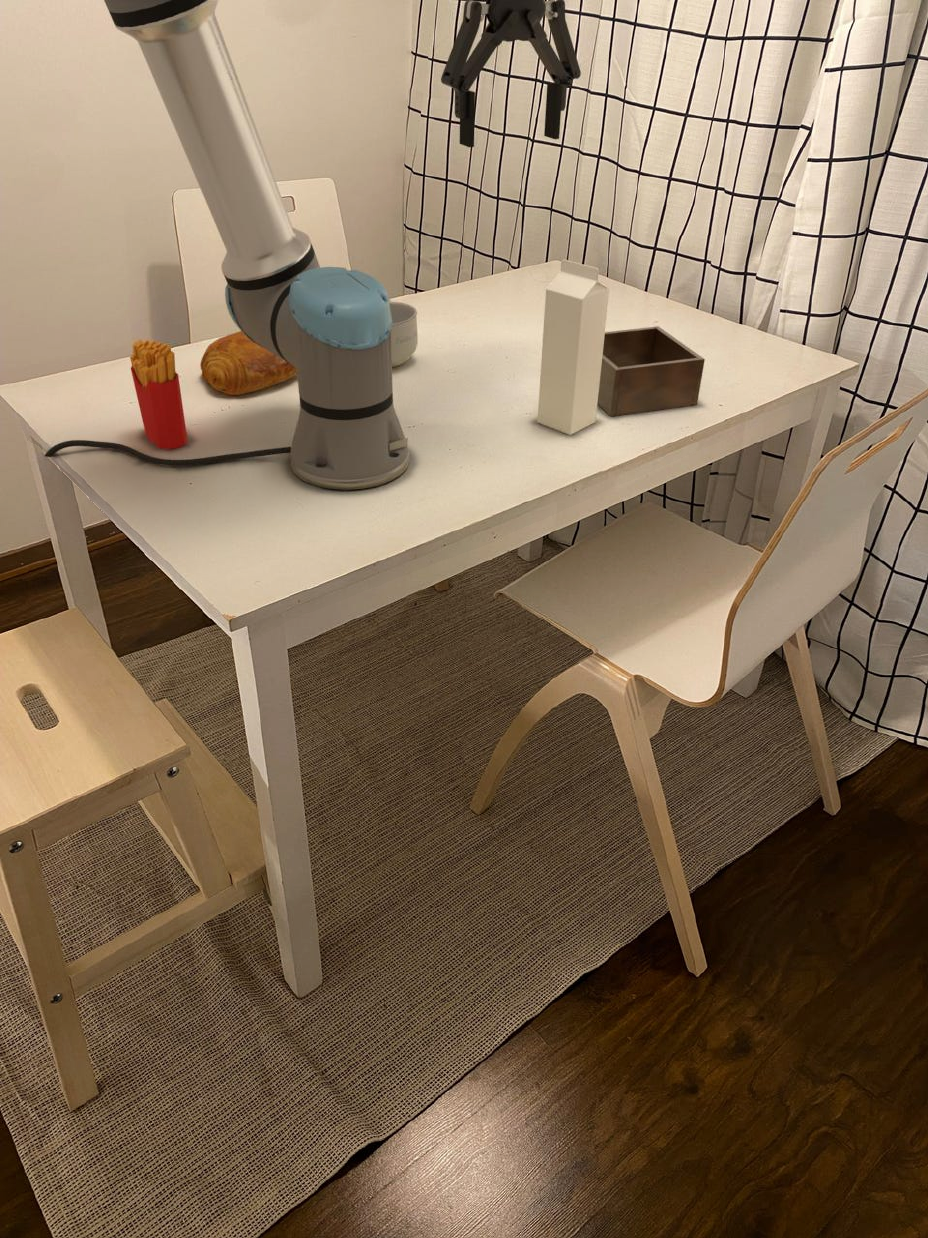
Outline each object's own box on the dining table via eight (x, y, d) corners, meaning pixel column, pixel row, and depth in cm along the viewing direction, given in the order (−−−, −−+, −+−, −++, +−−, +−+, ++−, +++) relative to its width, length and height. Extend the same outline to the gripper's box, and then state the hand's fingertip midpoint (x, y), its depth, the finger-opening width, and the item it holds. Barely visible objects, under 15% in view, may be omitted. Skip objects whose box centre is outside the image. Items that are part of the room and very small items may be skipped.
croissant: (318, 390, 149) (321, 339, 145) (232, 405, 139) (232, 351, 135) (263, 362, 157) (265, 312, 153) (178, 374, 147) (177, 321, 143)
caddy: (610, 416, 138) (616, 369, 134) (570, 379, 149) (574, 335, 145) (697, 404, 142) (704, 358, 138) (652, 369, 153) (658, 325, 148)
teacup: (408, 376, 149) (407, 325, 144) (341, 370, 150) (338, 319, 146) (429, 344, 160) (428, 296, 155) (366, 339, 161) (364, 291, 157)
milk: (570, 435, 133) (584, 274, 120) (536, 422, 136) (546, 263, 123) (596, 422, 137) (613, 263, 123) (562, 409, 140) (575, 253, 127)
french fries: (138, 431, 132) (119, 338, 124) (167, 423, 134) (151, 331, 127) (167, 455, 126) (149, 360, 119) (197, 446, 129) (181, 352, 121)
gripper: (583, -49, 127) (570, 129, 140) (414, -48, 117) (416, 143, 130) (616, -46, 122) (600, 138, 135) (442, -45, 112) (442, 153, 125)
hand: (510, 141), depth 132 cm, fingers open, 13 cm apart
